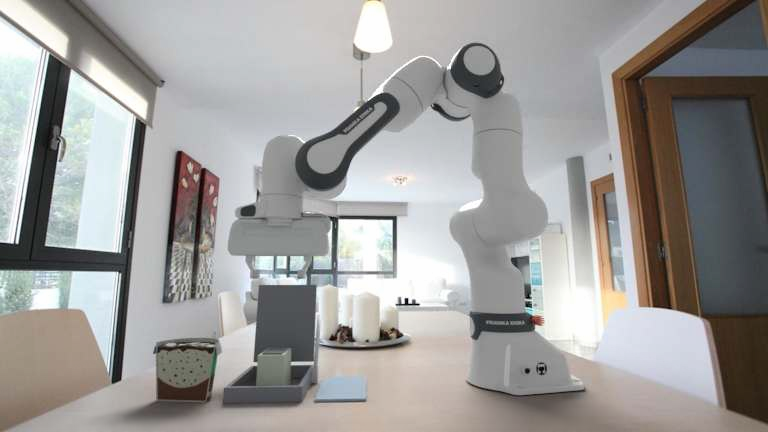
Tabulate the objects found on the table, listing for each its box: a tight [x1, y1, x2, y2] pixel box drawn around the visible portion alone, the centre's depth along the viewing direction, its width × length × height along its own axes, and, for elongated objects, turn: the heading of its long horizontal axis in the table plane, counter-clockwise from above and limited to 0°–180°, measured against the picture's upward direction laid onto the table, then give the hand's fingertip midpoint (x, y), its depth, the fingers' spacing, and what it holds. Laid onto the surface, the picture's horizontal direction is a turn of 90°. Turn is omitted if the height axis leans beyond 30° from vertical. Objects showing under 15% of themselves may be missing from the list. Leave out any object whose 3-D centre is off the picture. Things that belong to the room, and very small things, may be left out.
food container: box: [152, 337, 223, 403], centre depth 71 cm, size 12×6×10 cm, turn 84°
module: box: [255, 347, 292, 386], centre depth 75 cm, size 5×7×7 cm
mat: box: [314, 375, 367, 403], centre depth 74 cm, size 9×15×1 cm, turn 3°
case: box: [222, 314, 322, 404], centre depth 76 cm, size 15×18×13 cm
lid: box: [253, 284, 318, 363], centre depth 86 cm, size 13×17×1 cm
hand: (278, 278), depth 78 cm, fingers open, 8 cm apart
